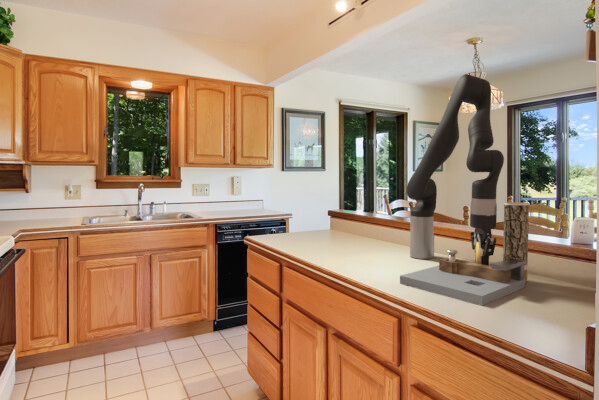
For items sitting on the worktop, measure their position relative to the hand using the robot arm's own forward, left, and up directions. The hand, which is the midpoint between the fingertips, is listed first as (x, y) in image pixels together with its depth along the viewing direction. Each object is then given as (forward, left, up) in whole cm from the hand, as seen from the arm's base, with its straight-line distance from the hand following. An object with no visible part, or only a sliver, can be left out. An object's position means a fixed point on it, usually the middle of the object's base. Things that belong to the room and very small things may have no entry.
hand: (481, 265), depth 119 cm
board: (+10, -1, -5) cm, 11 cm away
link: (+5, 0, -2) cm, 6 cm away
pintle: (+5, -7, -5) cm, 10 cm away
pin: (0, 0, -1) cm, 1 cm away
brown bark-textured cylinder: (-8, +7, -5) cm, 11 cm away
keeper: (+4, +10, -5) cm, 12 cm away
